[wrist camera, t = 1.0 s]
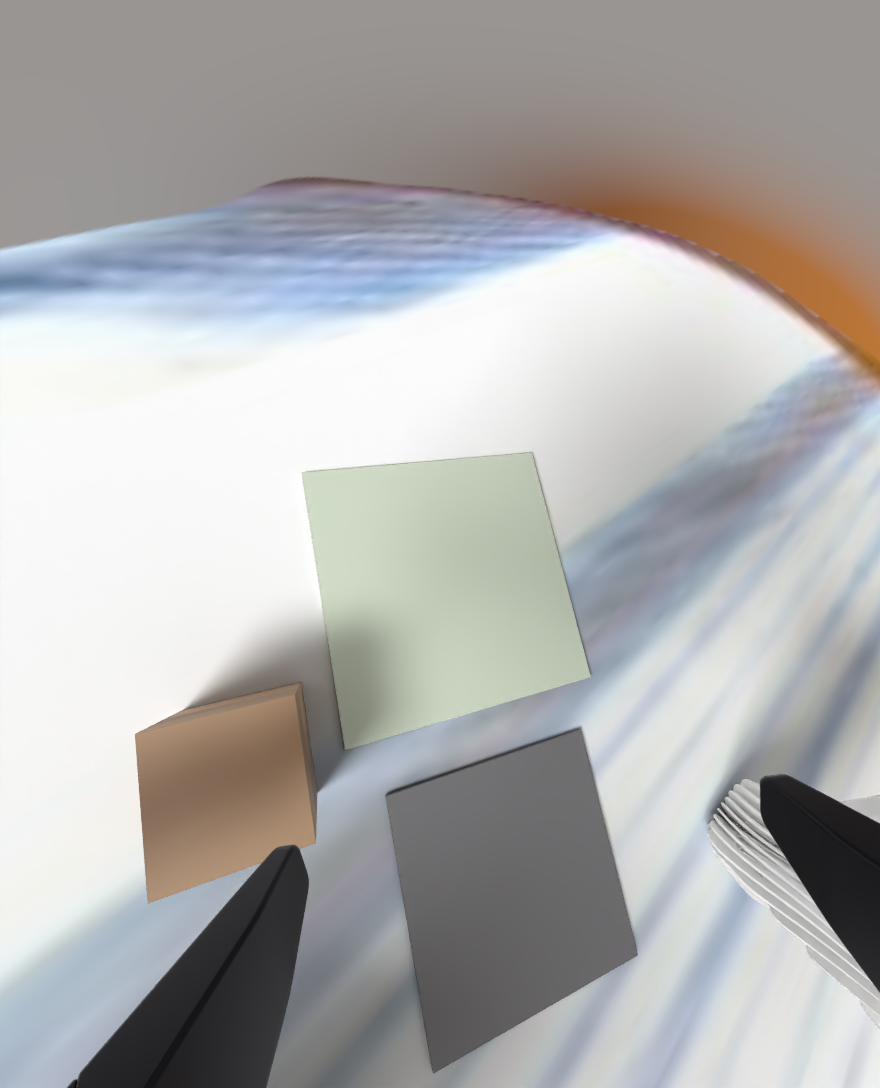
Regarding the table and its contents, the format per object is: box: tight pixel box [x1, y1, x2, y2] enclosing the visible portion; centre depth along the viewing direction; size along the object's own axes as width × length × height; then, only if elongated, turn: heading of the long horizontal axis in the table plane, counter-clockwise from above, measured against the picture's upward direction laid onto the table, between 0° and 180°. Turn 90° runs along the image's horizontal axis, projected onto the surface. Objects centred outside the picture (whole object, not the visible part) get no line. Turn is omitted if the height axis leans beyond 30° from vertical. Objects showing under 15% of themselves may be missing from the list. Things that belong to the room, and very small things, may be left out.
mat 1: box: [302, 453, 591, 750], centre depth 23 cm, size 14×14×1 cm
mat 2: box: [386, 729, 638, 1073], centre depth 20 cm, size 11×11×1 cm
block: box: [135, 682, 317, 903], centre depth 16 cm, size 5×5×5 cm
